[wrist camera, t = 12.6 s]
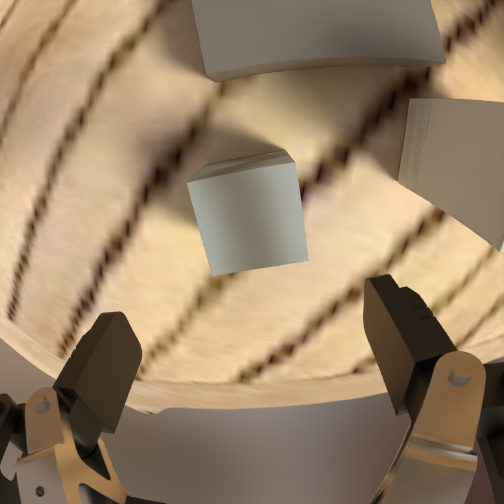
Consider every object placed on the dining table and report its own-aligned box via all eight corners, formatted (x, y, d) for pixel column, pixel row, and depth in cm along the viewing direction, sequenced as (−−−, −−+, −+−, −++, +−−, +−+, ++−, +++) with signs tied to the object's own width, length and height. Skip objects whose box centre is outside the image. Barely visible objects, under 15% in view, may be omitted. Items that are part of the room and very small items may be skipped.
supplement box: (394, 183, 21) (496, 254, 10) (407, 95, 18) (527, 100, 6) (458, 198, 21) (555, 264, 10) (472, 121, 18) (582, 151, 6)
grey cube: (285, 149, 20) (295, 162, 15) (297, 224, 23) (308, 260, 17) (205, 165, 21) (186, 182, 16) (223, 237, 23) (212, 275, 18)
